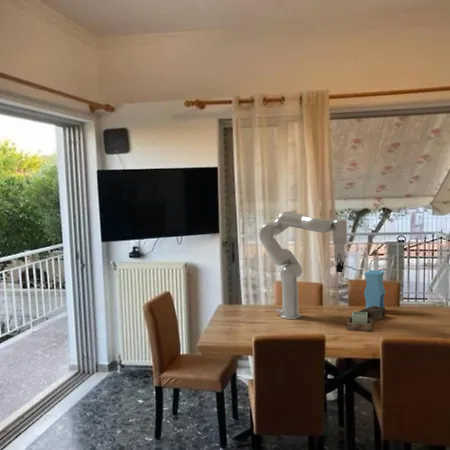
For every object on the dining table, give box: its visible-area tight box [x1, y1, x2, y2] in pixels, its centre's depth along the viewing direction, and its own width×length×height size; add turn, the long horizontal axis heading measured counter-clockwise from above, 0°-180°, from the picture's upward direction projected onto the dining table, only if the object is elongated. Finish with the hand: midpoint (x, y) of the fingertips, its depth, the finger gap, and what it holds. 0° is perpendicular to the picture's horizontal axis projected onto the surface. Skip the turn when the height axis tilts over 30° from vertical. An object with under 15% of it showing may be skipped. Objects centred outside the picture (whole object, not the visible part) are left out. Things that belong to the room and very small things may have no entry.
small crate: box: [351, 311, 367, 324], centre depth 251 cm, size 8×6×7 cm
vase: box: [363, 269, 386, 309], centre depth 282 cm, size 10×10×25 cm
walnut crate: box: [346, 316, 373, 332], centre depth 251 cm, size 13×14×4 cm
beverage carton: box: [357, 306, 386, 323], centre depth 265 cm, size 8×19×7 cm, turn 134°
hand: (340, 270), depth 260 cm, fingers open, 9 cm apart
